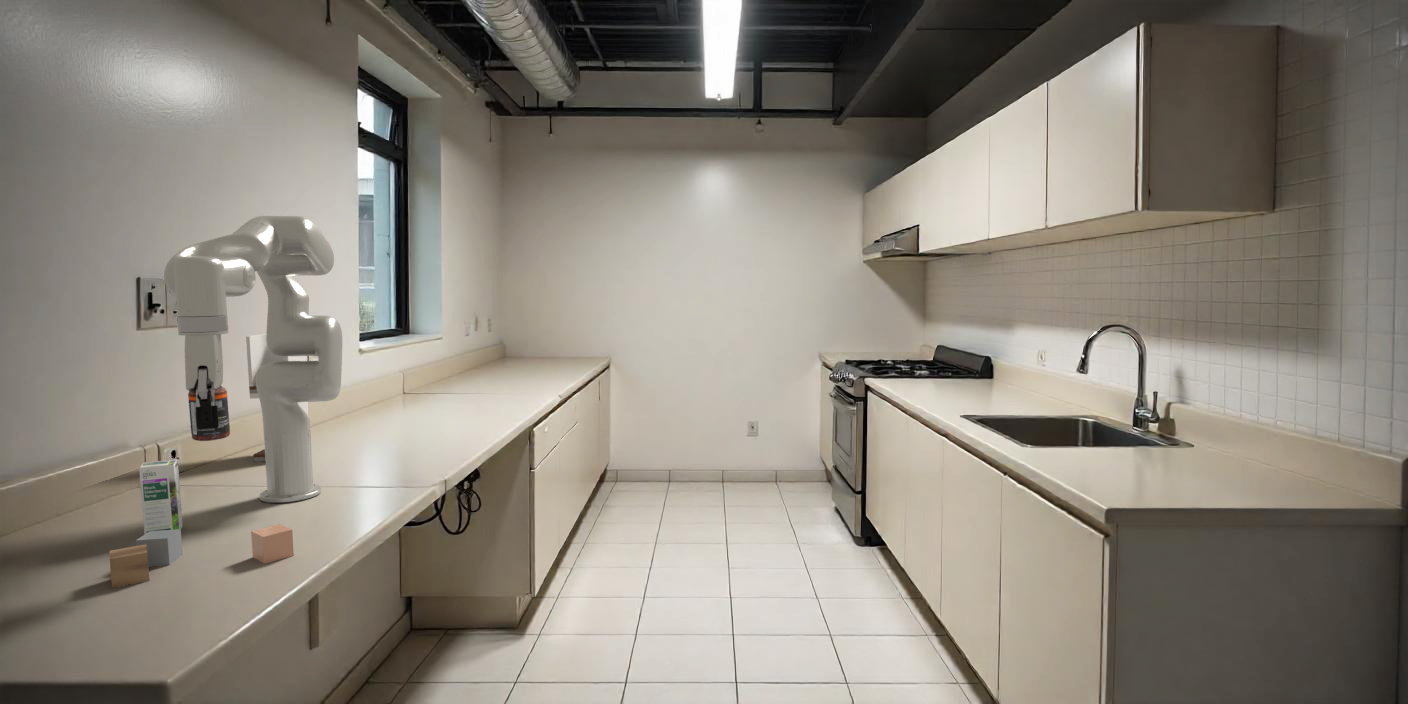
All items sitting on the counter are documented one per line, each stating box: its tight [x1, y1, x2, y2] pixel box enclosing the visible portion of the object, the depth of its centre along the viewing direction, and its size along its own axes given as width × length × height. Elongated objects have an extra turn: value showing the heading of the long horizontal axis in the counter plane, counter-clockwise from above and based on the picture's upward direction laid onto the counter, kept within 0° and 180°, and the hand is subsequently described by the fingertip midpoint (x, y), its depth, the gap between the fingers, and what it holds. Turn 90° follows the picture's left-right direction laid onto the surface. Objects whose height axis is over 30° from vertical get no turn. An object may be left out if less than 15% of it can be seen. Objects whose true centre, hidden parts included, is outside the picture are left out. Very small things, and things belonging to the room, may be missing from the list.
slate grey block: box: [135, 529, 183, 568], centre depth 137 cm, size 5×5×5 cm
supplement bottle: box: [188, 382, 231, 442], centre depth 138 cm, size 6×6×11 cm
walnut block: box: [109, 544, 150, 589], centre depth 128 cm, size 5×5×5 cm
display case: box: [245, 333, 309, 463], centre depth 217 cm, size 11×11×35 cm
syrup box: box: [138, 458, 183, 535], centre depth 151 cm, size 6×6×14 cm
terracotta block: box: [250, 524, 295, 565], centre depth 139 cm, size 5×5×5 cm
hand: (210, 424), depth 138 cm, fingers closed on supplement bottle, 6 cm apart
